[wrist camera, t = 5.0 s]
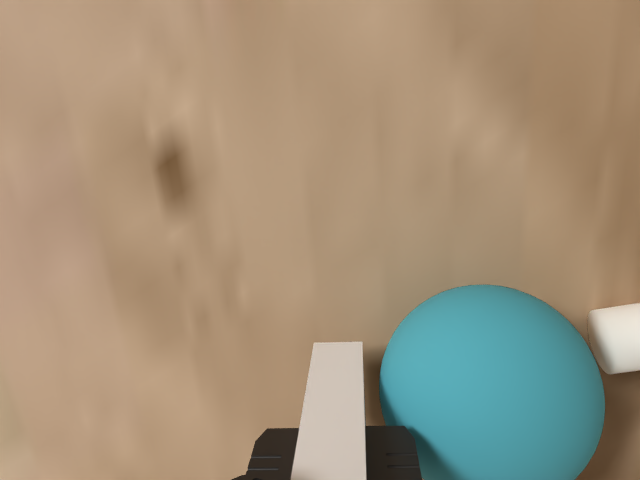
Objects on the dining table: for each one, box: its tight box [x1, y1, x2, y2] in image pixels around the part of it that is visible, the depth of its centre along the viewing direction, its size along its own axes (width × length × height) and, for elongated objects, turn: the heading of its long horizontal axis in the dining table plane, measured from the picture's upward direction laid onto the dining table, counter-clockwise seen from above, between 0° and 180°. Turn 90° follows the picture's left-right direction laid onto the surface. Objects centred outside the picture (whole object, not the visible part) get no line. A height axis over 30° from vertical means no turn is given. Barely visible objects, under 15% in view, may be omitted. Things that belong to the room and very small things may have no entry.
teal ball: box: [379, 285, 605, 480], centre depth 15 cm, size 6×6×6 cm
